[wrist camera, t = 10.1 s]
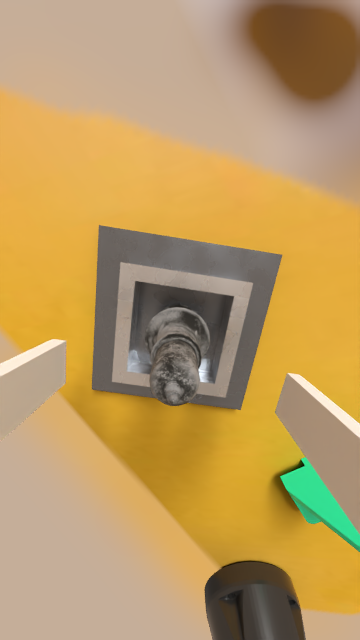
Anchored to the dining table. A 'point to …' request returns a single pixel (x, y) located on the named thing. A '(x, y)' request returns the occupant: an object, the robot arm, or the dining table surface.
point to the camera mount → (319, 502)
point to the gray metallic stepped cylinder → (176, 353)
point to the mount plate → (183, 289)
